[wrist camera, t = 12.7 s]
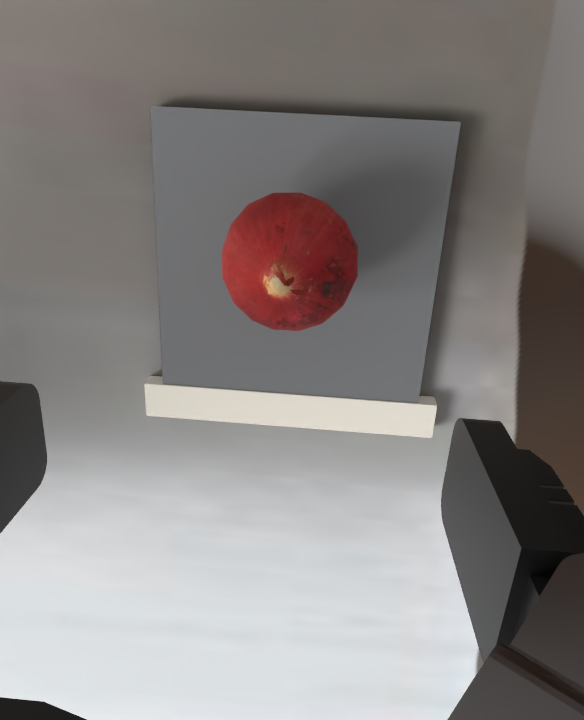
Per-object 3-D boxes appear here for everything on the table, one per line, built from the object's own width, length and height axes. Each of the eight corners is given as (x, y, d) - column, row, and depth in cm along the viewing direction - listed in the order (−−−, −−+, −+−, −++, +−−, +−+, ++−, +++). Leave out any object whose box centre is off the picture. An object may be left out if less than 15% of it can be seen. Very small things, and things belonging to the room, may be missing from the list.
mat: (428, 428, 32) (431, 437, 31) (152, 406, 33) (146, 415, 32) (478, 123, 26) (484, 123, 25) (135, 105, 26) (127, 104, 25)
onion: (375, 214, 27) (389, 244, 19) (327, 321, 29) (323, 385, 21) (261, 166, 26) (231, 177, 19) (221, 278, 28) (179, 327, 21)
